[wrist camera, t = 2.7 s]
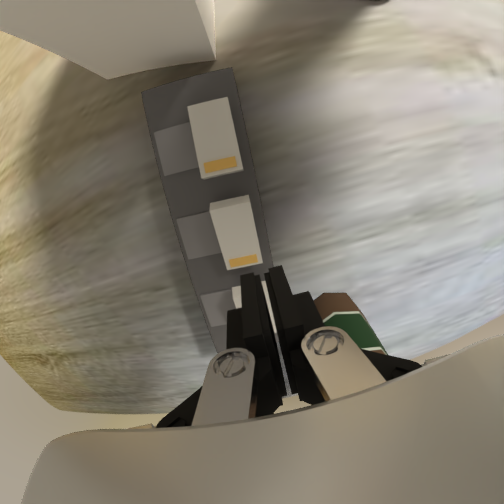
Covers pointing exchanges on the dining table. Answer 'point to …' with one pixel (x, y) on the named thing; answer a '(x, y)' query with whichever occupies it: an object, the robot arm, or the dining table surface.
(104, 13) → the milk
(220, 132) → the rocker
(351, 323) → the beer bottle
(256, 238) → the rocker mid
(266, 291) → the rocker
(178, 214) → the power strip
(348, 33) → the dining table surface
